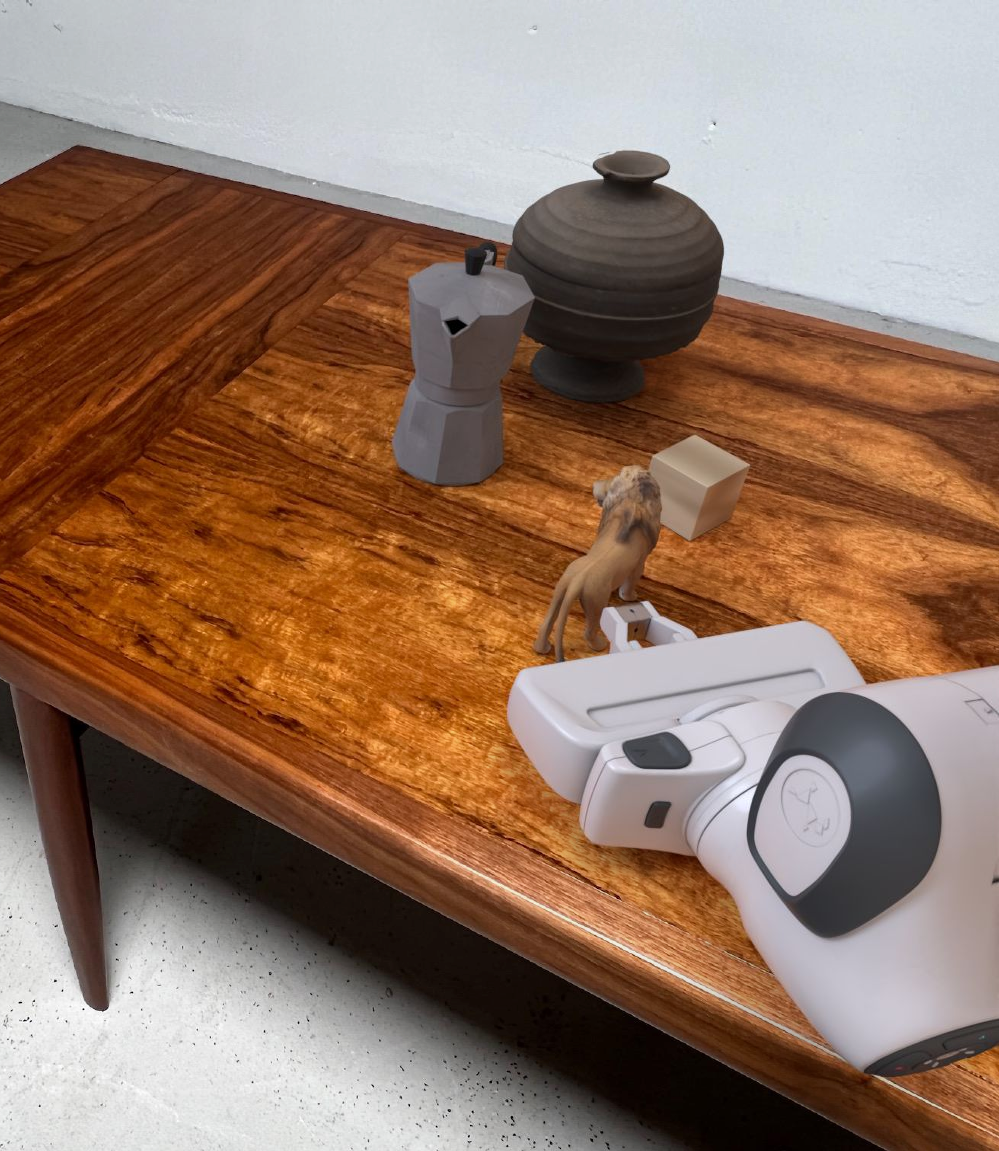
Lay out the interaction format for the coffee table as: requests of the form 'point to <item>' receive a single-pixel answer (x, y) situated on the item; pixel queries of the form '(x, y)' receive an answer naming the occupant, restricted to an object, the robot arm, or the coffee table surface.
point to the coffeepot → (460, 367)
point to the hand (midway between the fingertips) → (622, 611)
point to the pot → (614, 276)
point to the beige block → (697, 485)
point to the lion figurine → (607, 556)
